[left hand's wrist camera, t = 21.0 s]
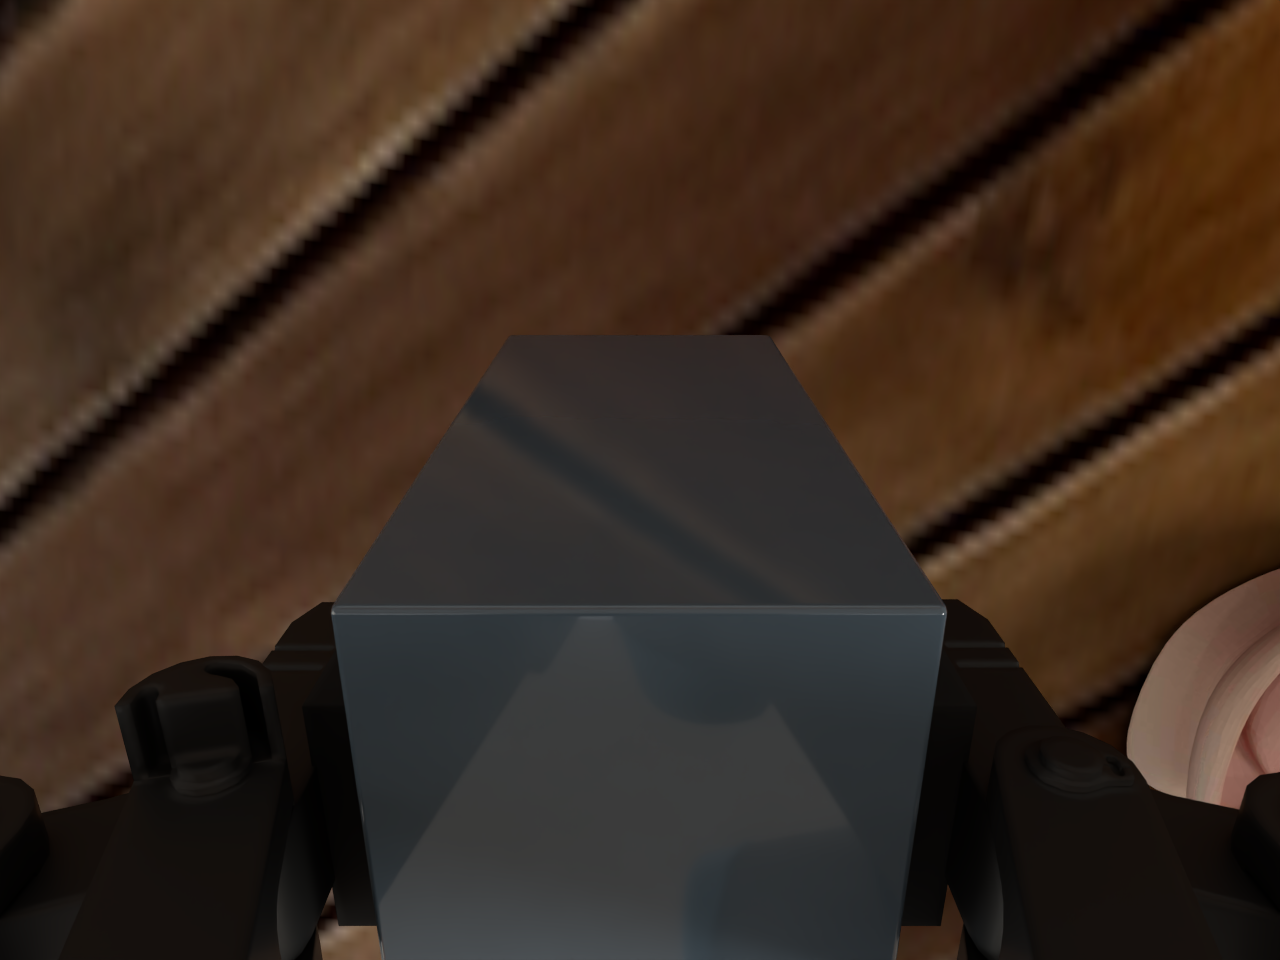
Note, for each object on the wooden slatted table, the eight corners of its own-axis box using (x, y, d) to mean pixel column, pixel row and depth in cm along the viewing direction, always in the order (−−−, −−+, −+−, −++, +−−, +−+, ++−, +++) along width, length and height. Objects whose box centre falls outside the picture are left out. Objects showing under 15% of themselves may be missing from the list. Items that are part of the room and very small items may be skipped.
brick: (770, 334, 16) (951, 607, 7) (755, 614, 18) (876, 1116, 9) (508, 334, 16) (327, 607, 7) (523, 614, 18) (401, 1116, 9)
